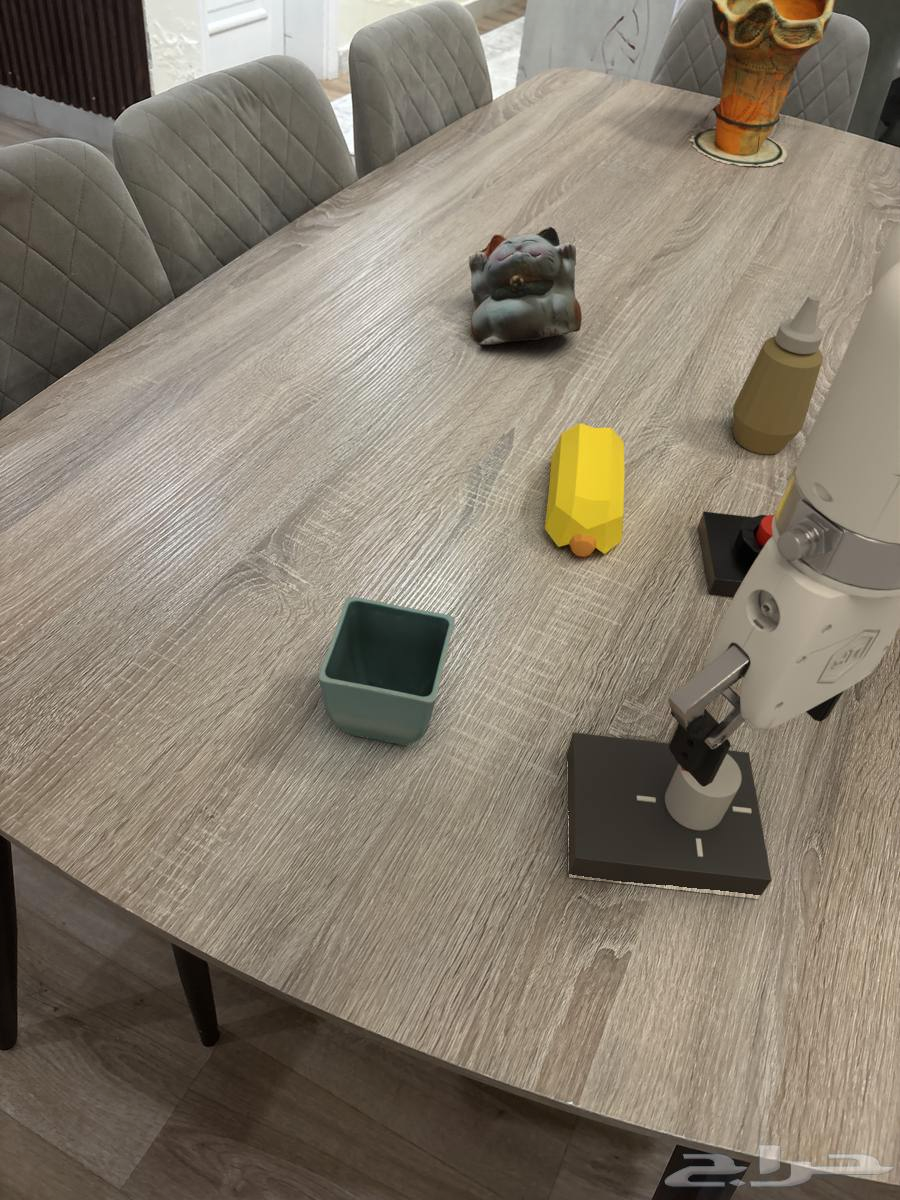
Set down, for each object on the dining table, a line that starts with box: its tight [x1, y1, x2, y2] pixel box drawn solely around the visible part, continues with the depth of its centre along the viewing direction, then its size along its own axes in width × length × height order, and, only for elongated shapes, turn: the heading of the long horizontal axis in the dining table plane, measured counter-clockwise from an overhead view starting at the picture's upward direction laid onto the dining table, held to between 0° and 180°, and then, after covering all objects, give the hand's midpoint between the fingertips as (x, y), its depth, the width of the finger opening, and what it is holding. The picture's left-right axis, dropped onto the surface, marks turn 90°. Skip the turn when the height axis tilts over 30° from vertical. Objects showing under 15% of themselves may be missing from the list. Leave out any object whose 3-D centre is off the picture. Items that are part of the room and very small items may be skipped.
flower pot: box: [318, 596, 456, 746], centre depth 74 cm, size 9×9×9 cm
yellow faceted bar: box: [544, 422, 626, 558], centre depth 96 cm, size 18×7×8 cm
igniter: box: [697, 511, 768, 599], centre depth 93 cm, size 12×10×4 cm
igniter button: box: [756, 514, 775, 546], centre depth 91 cm, size 4×4×2 cm
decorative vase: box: [688, 0, 836, 168], centre depth 165 cm, size 21×23×28 cm
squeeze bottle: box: [732, 294, 824, 455], centre depth 103 cm, size 8×8×18 cm
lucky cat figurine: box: [468, 226, 583, 347], centre depth 118 cm, size 15×12×14 cm
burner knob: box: [665, 754, 742, 831], centre depth 68 cm, size 4×4×5 cm
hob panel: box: [566, 731, 773, 896], centre depth 71 cm, size 14×11×3 cm
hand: (748, 734), depth 57 cm, fingers open, 9 cm apart
